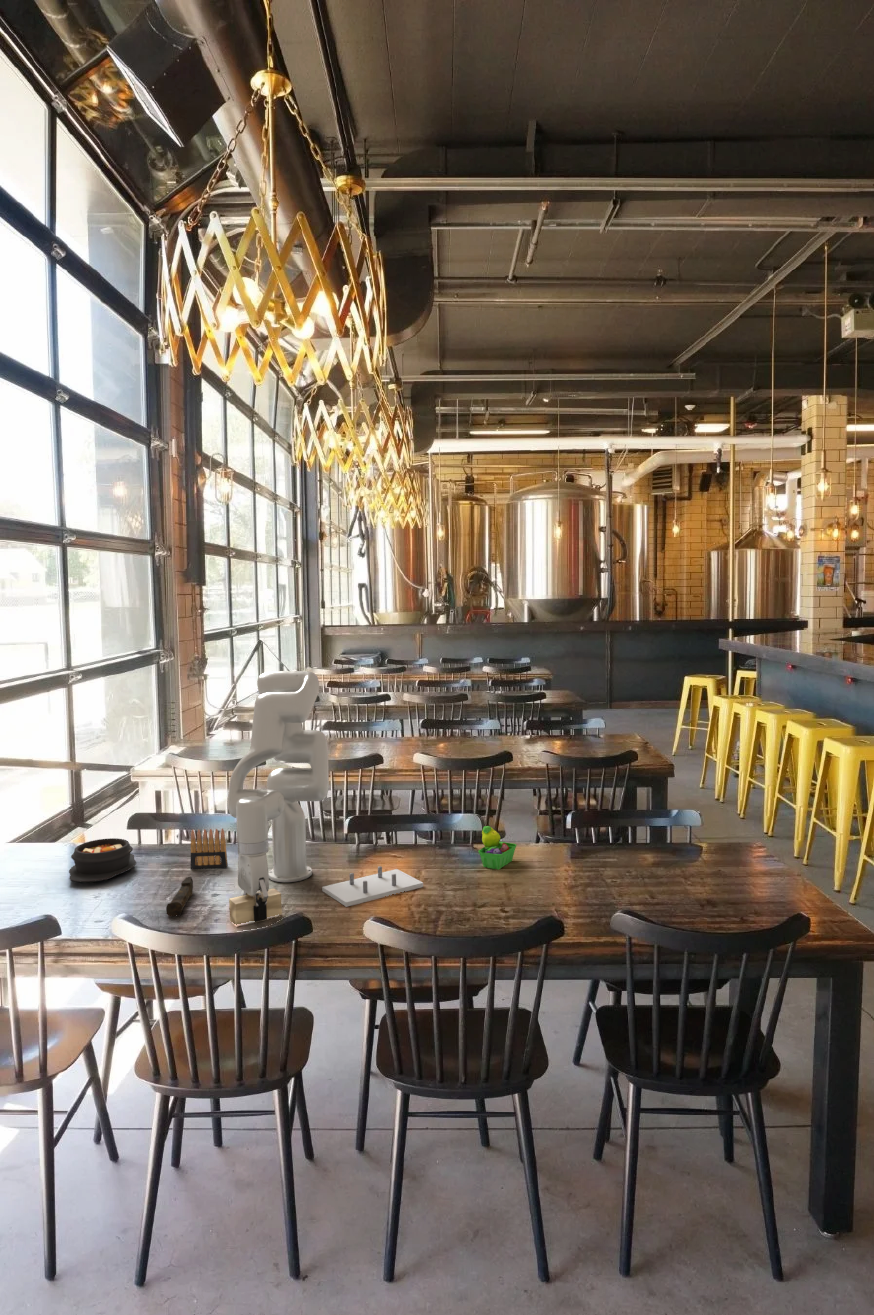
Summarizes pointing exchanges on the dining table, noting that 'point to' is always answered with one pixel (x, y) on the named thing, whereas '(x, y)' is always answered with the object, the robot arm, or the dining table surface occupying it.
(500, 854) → the fruit basket
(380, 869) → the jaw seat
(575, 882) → the dining table surface
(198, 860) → the ammunition clip
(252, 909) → the block
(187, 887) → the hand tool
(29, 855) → the dining table surface
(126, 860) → the casserole
